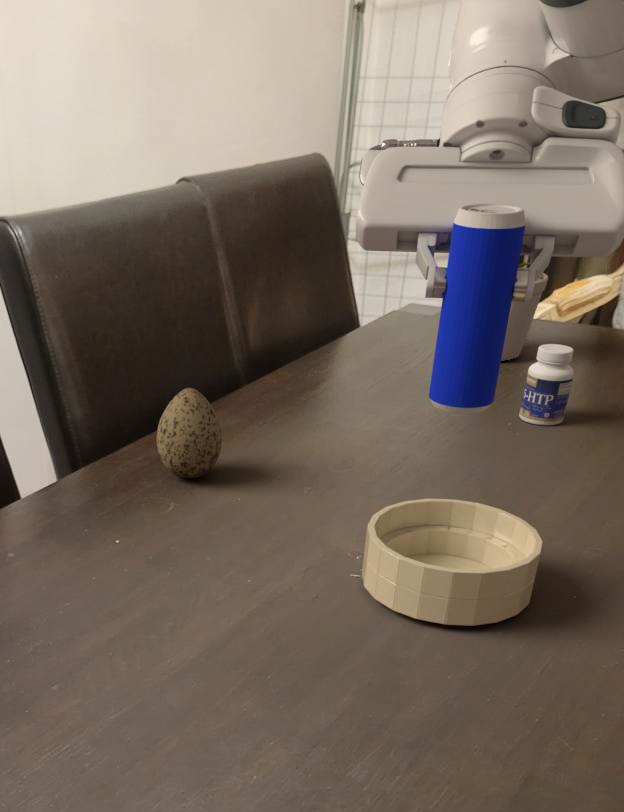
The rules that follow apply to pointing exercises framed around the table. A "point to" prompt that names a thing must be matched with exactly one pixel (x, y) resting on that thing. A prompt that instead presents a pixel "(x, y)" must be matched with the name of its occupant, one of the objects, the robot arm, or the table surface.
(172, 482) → the table surface
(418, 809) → the table surface
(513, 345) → the potted plant
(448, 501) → the bowl
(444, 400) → the beverage can
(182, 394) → the decorative egg
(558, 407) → the pill bottle
